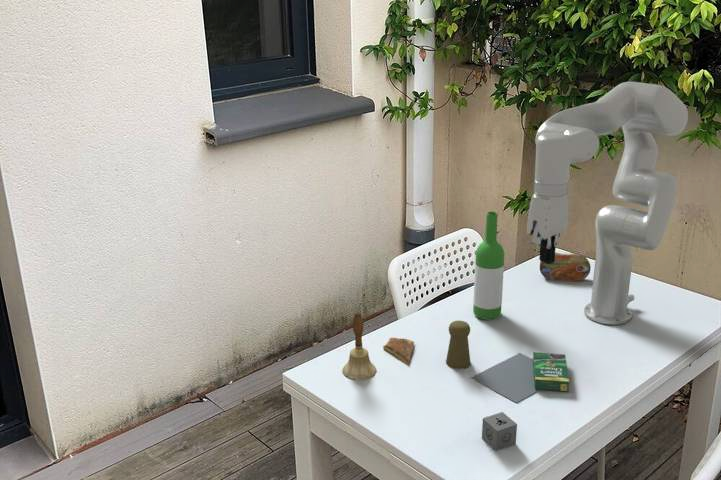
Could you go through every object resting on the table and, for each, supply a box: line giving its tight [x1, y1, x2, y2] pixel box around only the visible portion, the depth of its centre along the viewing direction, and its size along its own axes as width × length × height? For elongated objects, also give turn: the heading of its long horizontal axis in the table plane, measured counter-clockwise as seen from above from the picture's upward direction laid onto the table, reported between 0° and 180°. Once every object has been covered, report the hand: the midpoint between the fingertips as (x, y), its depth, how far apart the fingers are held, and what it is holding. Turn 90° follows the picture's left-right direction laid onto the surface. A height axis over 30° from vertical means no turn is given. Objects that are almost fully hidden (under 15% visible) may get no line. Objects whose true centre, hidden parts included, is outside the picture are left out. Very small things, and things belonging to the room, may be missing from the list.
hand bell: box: [341, 311, 377, 380], centre depth 183 cm, size 8×8×16 cm
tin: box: [539, 252, 591, 282], centre depth 233 cm, size 15×3×8 cm, turn 81°
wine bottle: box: [472, 211, 505, 320], centre depth 207 cm, size 8×8×30 cm
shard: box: [382, 337, 415, 365], centre depth 193 cm, size 11×8×2 cm
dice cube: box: [481, 411, 518, 452], centre depth 158 cm, size 5×5×5 cm
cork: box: [445, 320, 471, 370], centre depth 186 cm, size 6×6×11 cm
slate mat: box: [470, 352, 541, 404], centre depth 182 cm, size 18×14×1 cm
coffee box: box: [532, 351, 570, 392], centre depth 181 cm, size 8×3×13 cm
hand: (546, 261), depth 179 cm, fingers closed
